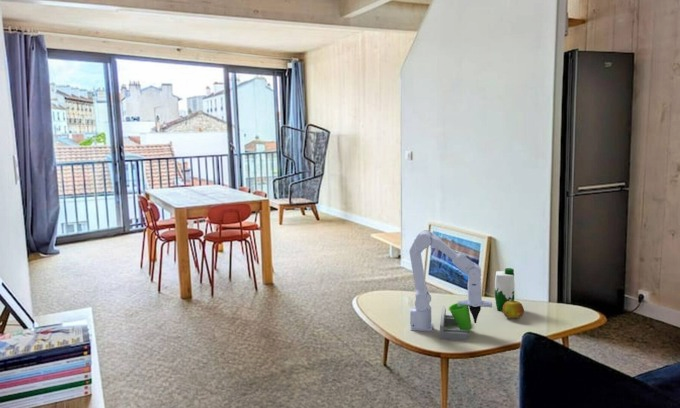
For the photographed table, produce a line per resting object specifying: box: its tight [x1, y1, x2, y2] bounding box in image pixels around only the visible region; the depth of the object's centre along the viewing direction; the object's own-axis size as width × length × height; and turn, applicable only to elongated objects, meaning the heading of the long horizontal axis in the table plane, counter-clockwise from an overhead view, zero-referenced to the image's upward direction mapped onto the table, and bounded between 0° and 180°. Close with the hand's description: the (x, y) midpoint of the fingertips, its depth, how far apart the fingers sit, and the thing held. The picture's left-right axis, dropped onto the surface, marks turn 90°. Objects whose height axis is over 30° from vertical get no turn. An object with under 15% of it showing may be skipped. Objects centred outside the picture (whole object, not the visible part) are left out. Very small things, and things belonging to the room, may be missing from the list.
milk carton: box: [494, 267, 515, 312], centre depth 241 cm, size 9×9×20 cm
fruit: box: [502, 300, 525, 319], centre depth 230 cm, size 10×9×8 cm
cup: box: [448, 302, 472, 332], centre depth 217 cm, size 9×9×11 cm
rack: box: [439, 306, 469, 342], centre depth 218 cm, size 12×21×7 cm, turn 166°
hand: (475, 322), depth 216 cm, fingers closed, pressing on cup
